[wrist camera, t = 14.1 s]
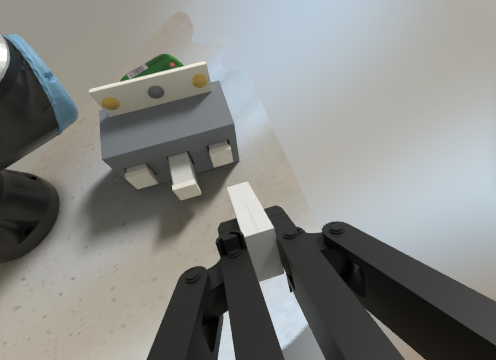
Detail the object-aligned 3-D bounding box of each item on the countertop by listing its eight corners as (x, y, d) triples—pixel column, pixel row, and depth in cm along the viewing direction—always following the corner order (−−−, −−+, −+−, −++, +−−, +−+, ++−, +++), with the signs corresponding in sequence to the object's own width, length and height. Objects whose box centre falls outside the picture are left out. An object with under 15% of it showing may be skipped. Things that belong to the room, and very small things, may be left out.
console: (137, 190, 44) (101, 159, 34) (132, 149, 48) (99, 110, 38) (239, 161, 46) (234, 123, 36) (226, 123, 50) (218, 80, 40)
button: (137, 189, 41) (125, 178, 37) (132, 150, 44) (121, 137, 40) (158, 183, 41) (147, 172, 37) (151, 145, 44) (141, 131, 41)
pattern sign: (109, 118, 37) (89, 93, 33) (109, 114, 38) (89, 89, 33) (212, 92, 39) (206, 65, 34) (211, 88, 39) (205, 60, 35)
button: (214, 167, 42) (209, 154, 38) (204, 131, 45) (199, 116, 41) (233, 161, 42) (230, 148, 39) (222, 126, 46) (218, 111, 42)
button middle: (180, 200, 40) (172, 190, 36) (172, 160, 43) (164, 147, 39) (201, 194, 40) (195, 183, 36) (191, 154, 43) (185, 141, 39)
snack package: (118, 100, 54) (104, 82, 49) (176, 64, 58) (169, 43, 53) (135, 119, 51) (123, 102, 47) (195, 80, 56) (189, 60, 51)
